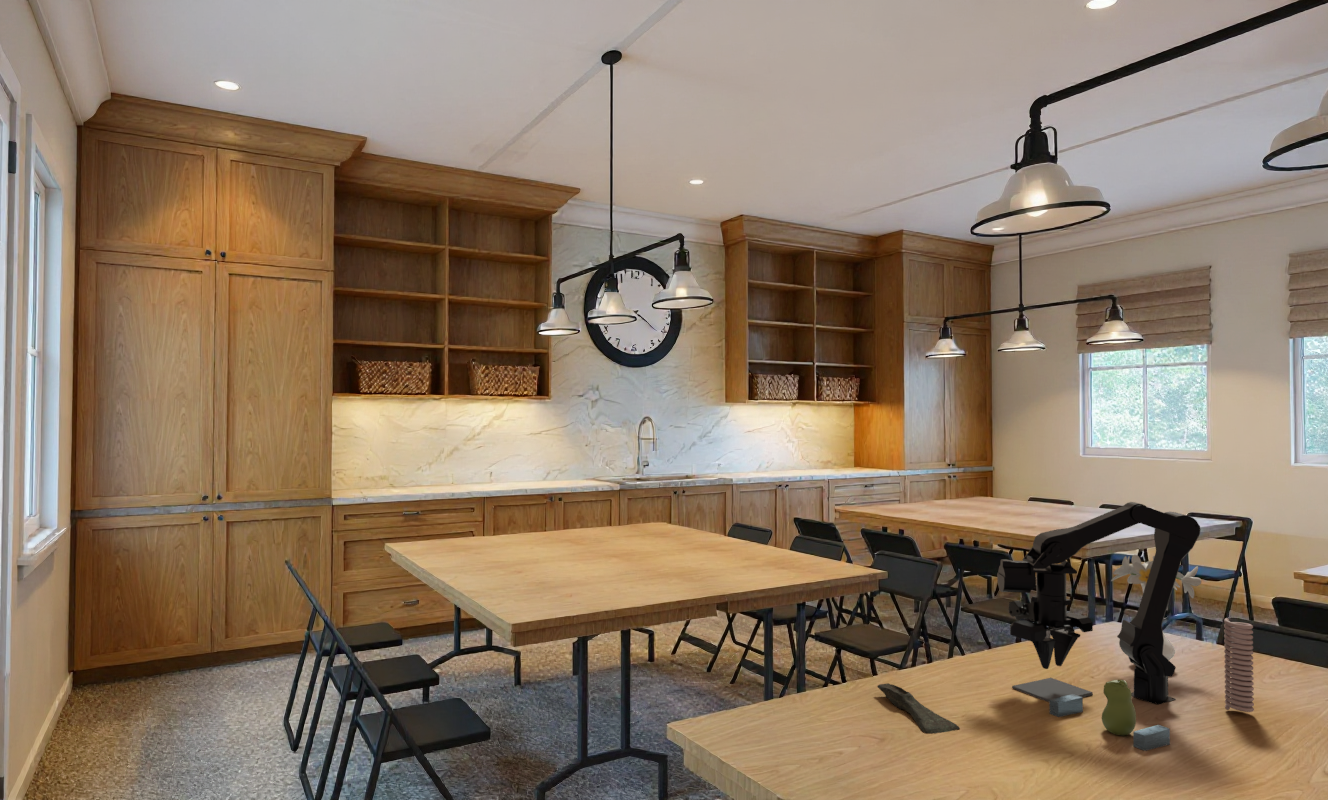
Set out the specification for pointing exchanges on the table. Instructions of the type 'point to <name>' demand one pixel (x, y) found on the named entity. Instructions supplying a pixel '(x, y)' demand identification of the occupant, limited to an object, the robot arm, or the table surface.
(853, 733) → the table surface
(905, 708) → the tool
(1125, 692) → the pear
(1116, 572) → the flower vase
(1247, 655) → the coil
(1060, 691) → the mat
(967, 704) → the table surface
